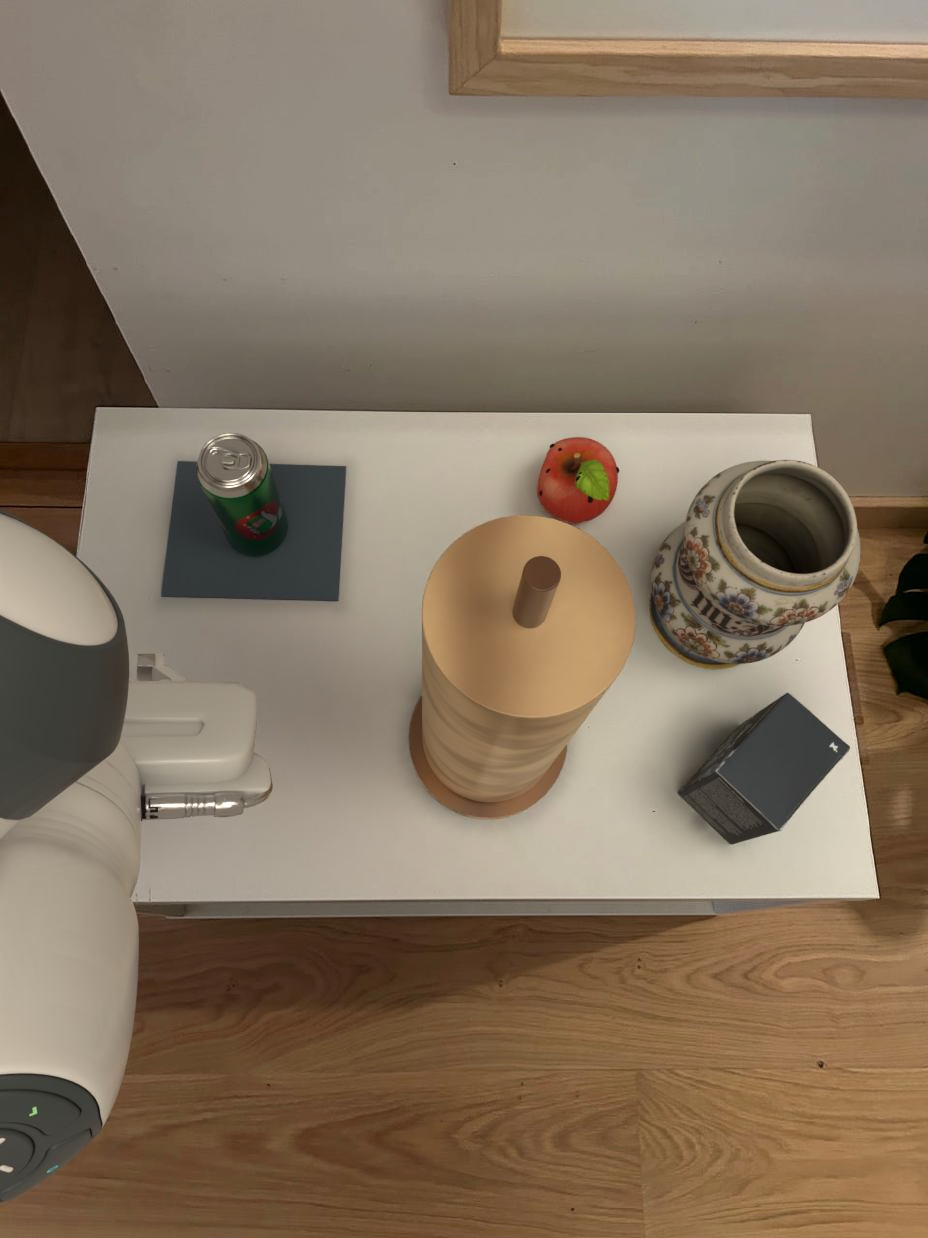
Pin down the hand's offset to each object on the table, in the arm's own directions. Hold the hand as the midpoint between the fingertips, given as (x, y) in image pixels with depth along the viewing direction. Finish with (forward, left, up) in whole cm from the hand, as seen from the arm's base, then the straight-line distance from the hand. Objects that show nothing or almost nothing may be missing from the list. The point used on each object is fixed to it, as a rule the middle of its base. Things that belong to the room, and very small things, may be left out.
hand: (61, 662), depth 52 cm
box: (+44, -3, -20) cm, 49 cm away
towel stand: (+25, 0, -20) cm, 32 cm away
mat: (+6, +17, -20) cm, 27 cm away
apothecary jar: (+43, +11, -20) cm, 49 cm away
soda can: (+6, +17, -20) cm, 27 cm away
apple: (+32, +20, -20) cm, 43 cm away
